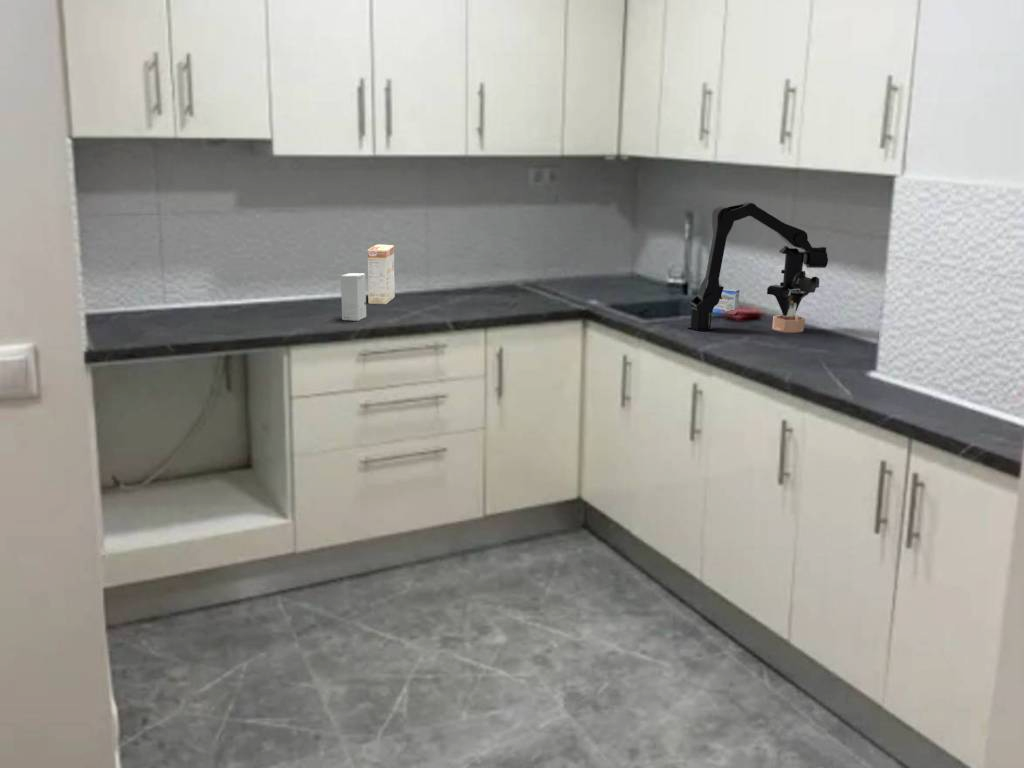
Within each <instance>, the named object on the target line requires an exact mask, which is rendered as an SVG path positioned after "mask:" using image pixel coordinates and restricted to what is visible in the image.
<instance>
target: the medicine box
mask: <svg viewBox="0 0 1024 768" xmlns="http://www.w3.org/2000/svg"><path fill="white" fill-rule="evenodd" d="M721 297H722V299H720V300H719V303H718V304H717V305H716V306H714V309H713V311H712V313H713V314H718V315H724V314H723V313H725V312H727V311H730V310H735V309H738V310H739V303H740V302H739V301H740V300H739V299H740V290H739V289H732V288H723V292H722V296H721Z"/></svg>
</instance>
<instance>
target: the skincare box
mask: <svg viewBox="0 0 1024 768" xmlns="http://www.w3.org/2000/svg"><path fill="white" fill-rule="evenodd" d="M366 291H367V290H366V273H362V272H361V273H360V272H359V273H357V272H355V273H353V272H349V273H345V274H342V275H341V276H340V292H341V293H340V294H341V295H340V296H341V298H340V299H341V320H343V321H353V322H354V321H355V322H358V321H359V322H360V320H362V319H365V318H367V293H366Z"/></svg>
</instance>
